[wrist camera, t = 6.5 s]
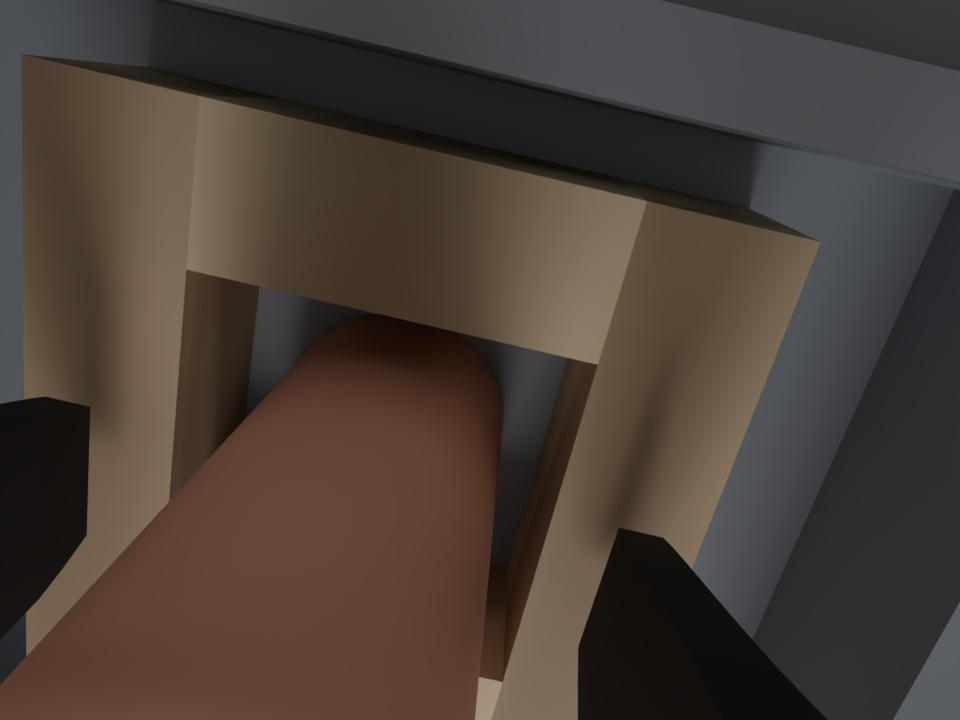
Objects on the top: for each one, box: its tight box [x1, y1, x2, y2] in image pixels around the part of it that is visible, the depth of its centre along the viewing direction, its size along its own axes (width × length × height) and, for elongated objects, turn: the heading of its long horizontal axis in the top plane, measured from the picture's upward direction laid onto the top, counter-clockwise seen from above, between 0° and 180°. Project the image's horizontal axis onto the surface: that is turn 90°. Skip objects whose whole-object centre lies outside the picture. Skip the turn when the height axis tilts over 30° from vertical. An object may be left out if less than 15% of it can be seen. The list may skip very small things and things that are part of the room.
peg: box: [0, 314, 503, 720], centre depth 9 cm, size 4×4×8 cm
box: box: [0, 0, 960, 720], centre depth 12 cm, size 18×18×4 cm
